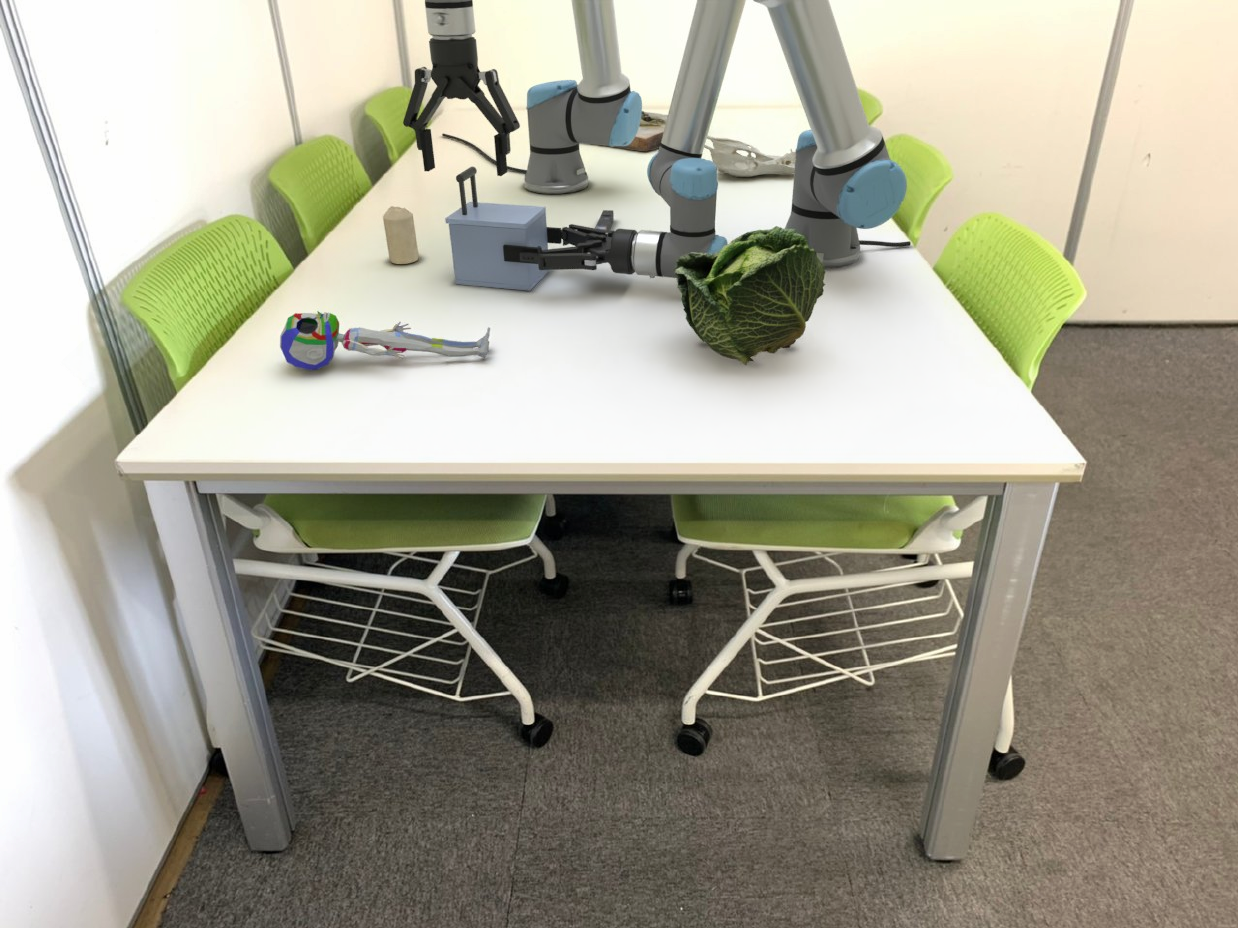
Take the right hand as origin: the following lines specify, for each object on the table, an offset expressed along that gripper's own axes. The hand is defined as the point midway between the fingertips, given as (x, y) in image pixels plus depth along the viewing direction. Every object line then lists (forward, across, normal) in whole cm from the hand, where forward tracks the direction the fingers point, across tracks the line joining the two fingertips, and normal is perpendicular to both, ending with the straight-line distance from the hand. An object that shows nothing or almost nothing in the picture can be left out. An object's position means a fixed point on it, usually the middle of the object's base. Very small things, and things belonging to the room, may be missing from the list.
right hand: (515, 243), depth 159 cm
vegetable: (-45, -20, -7) cm, 50 cm away
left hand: (+8, 0, +12) cm, 15 cm away
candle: (+25, +4, -7) cm, 26 cm away
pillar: (-8, +27, -7) cm, 29 cm away
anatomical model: (-29, +80, -7) cm, 86 cm away
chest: (+3, 0, -7) cm, 7 cm away
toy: (+6, -37, -7) cm, 38 cm away
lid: (+3, 0, +4) cm, 5 cm away
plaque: (+9, +116, -7) cm, 116 cm away
